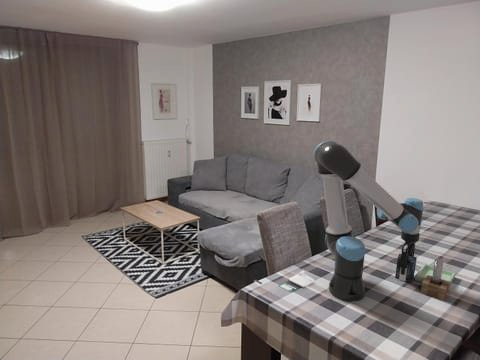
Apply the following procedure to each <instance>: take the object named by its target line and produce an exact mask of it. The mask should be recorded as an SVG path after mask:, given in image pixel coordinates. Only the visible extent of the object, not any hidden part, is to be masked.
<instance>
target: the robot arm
mask: <svg viewBox="0 0 480 360" xmlns="http://www.w3.org/2000/svg"><path fill="white" fill-rule="evenodd" d="M313 156H314V160H315V162H316V165H317V171H318V175H319V176H321V178H322V183H323V191H324V199H325V206H326V213H327V223H328V226H327V227H326V228H325V237H324V239H325V246H326V248H327V250H329V251H330V253H331V255H332V256H333V258H334V272H333V275H332V276H331V279H330V281H329V284H328V291H329V292H330V294H331V295H332V296H334V297H336V298H338V299H340V300H344V301H351V302H352V301H353V302H354V301H361V300H362V299H363V298H365V296H366V288H365V284H364V283H365V282H364V280H363V273H364V265H365V256H366V245H365V243H364V242H363V241H362V239H359V238H356V237H354V235H353V229H352V226H351V225H350V224H349V223H348V213H347V205H346V196H345V189H344V187H345V186H344V182H348V183H349V184H350V185H351V186H352V187H353V188H354V189H355V190H357V191H358V192H359V194H361V195H362V196H363V197H364V198H365V199H367V200H368V201H369V203H371V204H372V205H373V206H374V207H375V208H376V214H377V218H378V219H380V220H382V221H383V220H384V221H389V222H391V223H392V224H393V225H395V226H396V227H397V228H399V230H400V231H401V233H400V234H401V235H400V238H401V239H402V240H403V241H404V242H403V245H402V247H401V253H400V254H401V259H400V265H399V267H400V276H399V278H398V279H399V281H403V282H406V281H407V280H406V274H407V263H408V259H409V256H413V257H415V251H416V243H418V242H419V241H420V235H421V234H420V232H421V230H422V229H423V227H422V226H421V224H422V218H423V213H424V201H423V200H422V199H420V198H415V197H408V198H406V199H405V200H404V202H403V203H401V202H399V201H398V200H396V199H395V198H394V196H392V195H391V194H390V193H389V192H388V191H387V190H386V189H384V188H383V186H381V185H380V184H379V183H378V182H377V181H376V180H375V179H374V178H373V177H372V176H370V174H368V173H367V172H366V171H365V170H364V169H363V168H362V164H361V163H360V162H359V161H358V160H357V159H356V158H355V157H354V156H353V155H352V153H351V152H350V151H349V150H348V149H347V148H346V147H345V146H343V145H342V144H339V143H337V142H336V141H332V140H327V141H326V140H324V141H323V142H321V143H319V144H318V145H317V146H316V148H315V149H314V153H313Z"/></svg>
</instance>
